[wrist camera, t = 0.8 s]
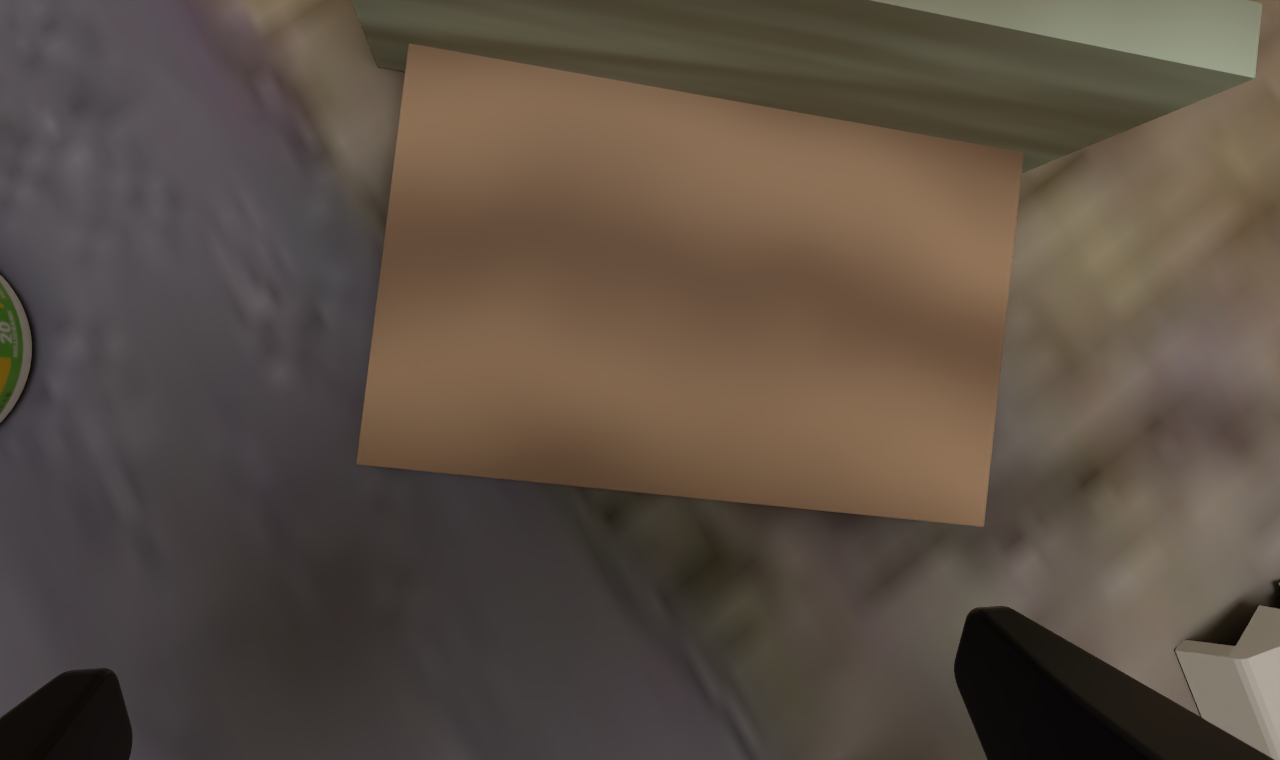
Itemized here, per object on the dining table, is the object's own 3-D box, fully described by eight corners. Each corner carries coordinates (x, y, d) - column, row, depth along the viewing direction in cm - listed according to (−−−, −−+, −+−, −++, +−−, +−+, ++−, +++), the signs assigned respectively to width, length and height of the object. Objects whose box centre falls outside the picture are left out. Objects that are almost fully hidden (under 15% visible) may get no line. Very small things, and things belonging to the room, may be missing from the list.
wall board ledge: (976, 518, 24) (1204, 583, 16) (329, 452, 21) (227, 493, 14) (1018, 125, 25) (1262, 3, 17) (384, 10, 22) (317, -204, 14)
